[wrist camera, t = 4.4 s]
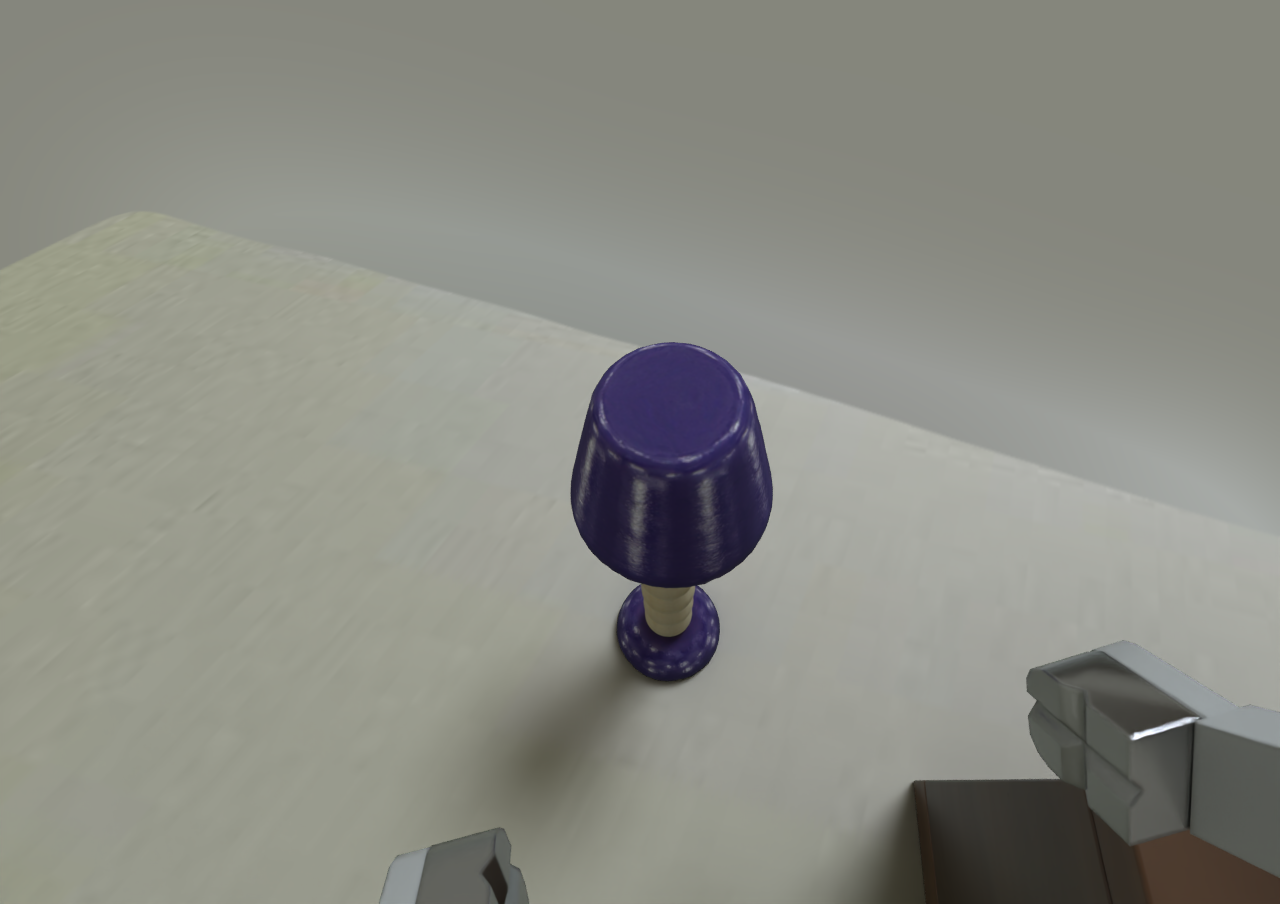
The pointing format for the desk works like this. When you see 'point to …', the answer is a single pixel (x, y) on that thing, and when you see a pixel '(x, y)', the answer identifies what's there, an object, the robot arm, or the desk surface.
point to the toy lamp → (671, 495)
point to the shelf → (1063, 852)
